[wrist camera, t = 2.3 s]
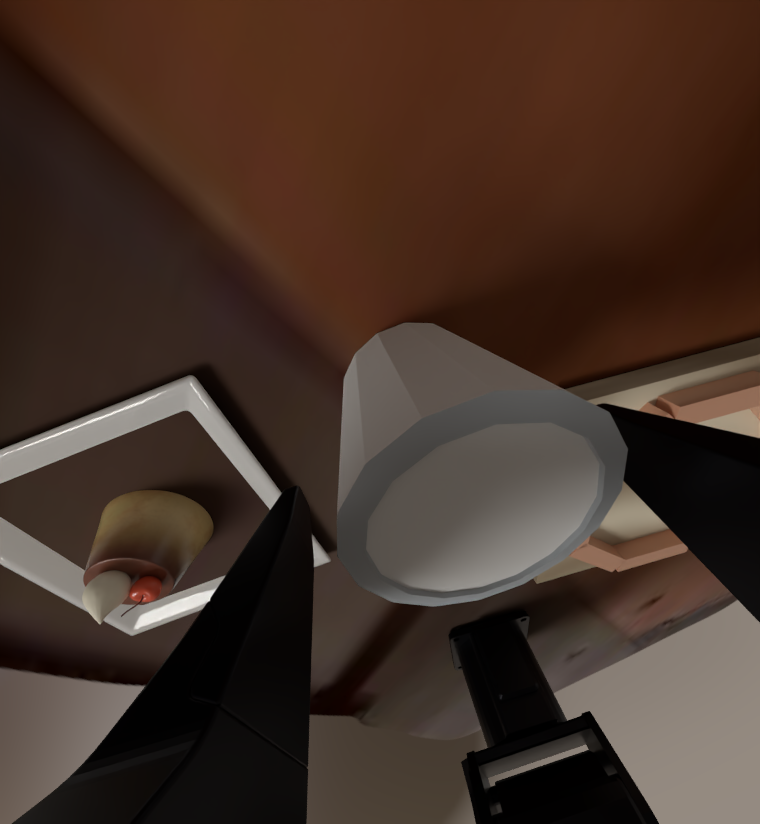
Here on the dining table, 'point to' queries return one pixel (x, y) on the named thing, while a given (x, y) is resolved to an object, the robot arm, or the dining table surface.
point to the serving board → (644, 386)
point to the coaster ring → (690, 407)
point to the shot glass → (464, 469)
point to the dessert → (132, 517)
